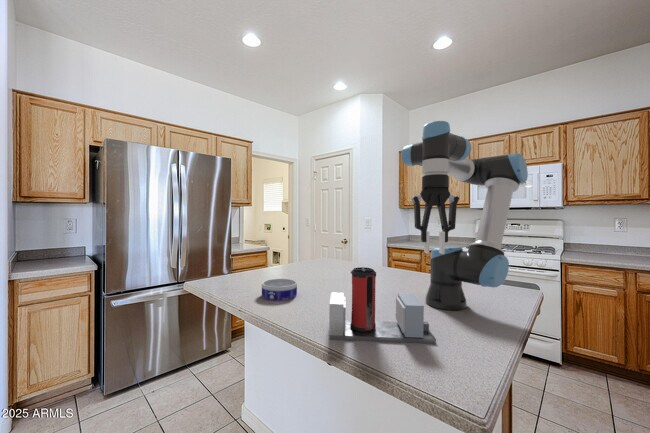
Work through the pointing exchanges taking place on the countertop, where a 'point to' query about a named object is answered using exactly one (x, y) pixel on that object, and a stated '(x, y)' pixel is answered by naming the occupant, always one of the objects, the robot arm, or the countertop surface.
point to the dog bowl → (279, 289)
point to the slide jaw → (410, 315)
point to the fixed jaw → (337, 314)
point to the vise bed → (382, 334)
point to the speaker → (363, 299)
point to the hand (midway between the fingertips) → (434, 253)
